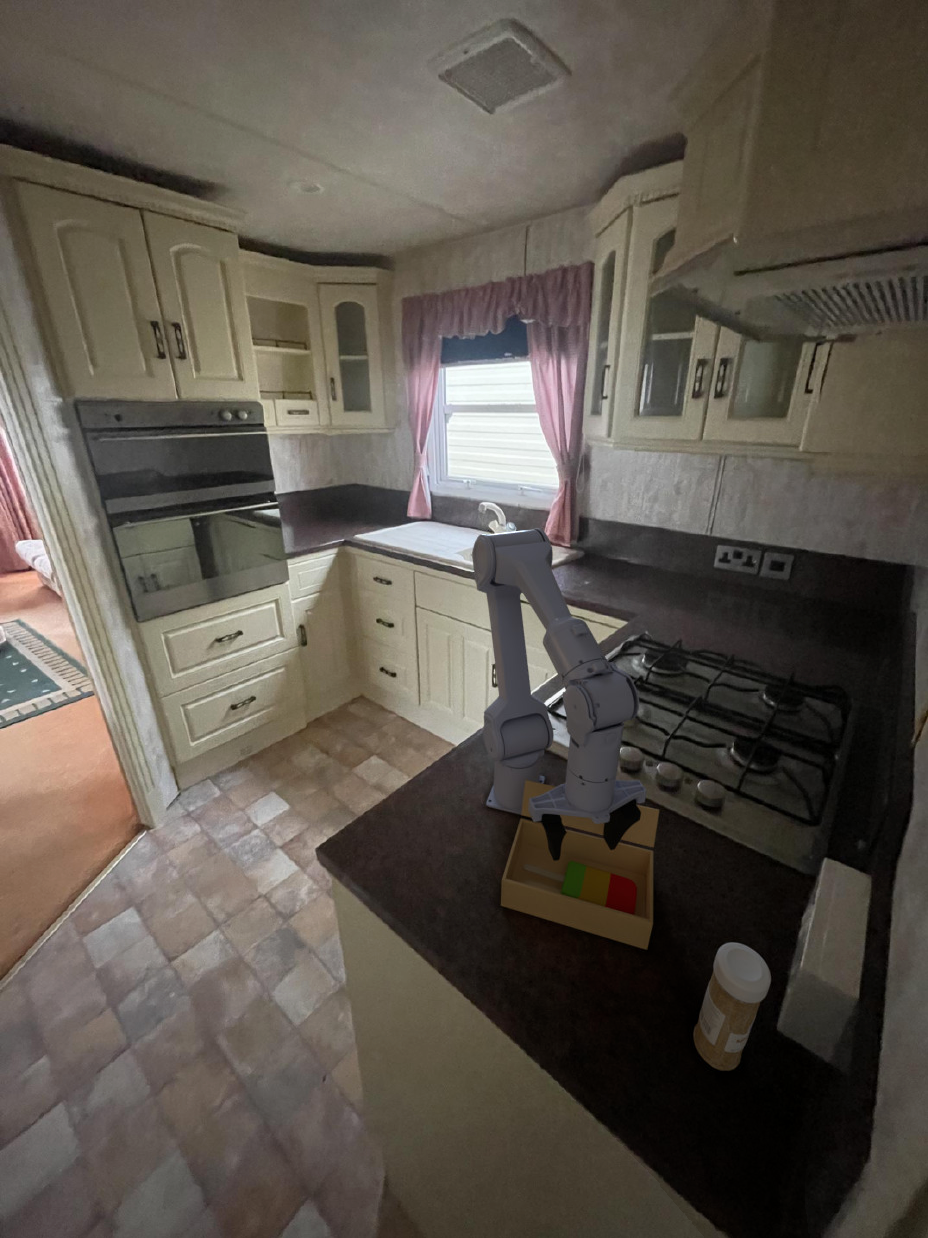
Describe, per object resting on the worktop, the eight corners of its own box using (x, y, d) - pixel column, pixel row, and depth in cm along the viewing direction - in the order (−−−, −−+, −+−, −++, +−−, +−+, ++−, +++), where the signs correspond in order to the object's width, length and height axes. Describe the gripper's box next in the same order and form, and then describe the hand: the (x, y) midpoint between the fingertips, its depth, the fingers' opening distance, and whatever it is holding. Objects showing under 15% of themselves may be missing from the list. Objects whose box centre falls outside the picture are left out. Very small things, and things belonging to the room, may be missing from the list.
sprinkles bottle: (742, 1081, 50) (775, 999, 45) (692, 1061, 52) (718, 979, 46) (738, 1031, 54) (768, 950, 49) (691, 1013, 56) (715, 933, 50)
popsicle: (632, 926, 64) (634, 916, 64) (517, 887, 69) (518, 877, 69) (636, 889, 69) (638, 880, 68) (528, 855, 74) (529, 846, 73)
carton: (519, 842, 77) (520, 818, 75) (648, 876, 71) (653, 850, 69) (500, 905, 67) (501, 880, 65) (647, 950, 62) (653, 923, 60)
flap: (521, 815, 74) (521, 814, 75) (653, 847, 69) (653, 846, 69) (525, 780, 74) (525, 779, 74) (659, 810, 68) (659, 809, 69)
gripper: (545, 800, 56) (538, 886, 61) (666, 779, 58) (649, 864, 64) (525, 757, 62) (520, 839, 67) (635, 741, 64) (622, 821, 70)
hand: (581, 848), depth 66 cm, fingers open, 7 cm apart
